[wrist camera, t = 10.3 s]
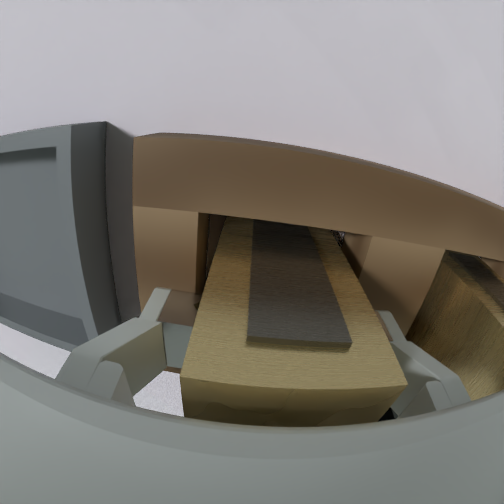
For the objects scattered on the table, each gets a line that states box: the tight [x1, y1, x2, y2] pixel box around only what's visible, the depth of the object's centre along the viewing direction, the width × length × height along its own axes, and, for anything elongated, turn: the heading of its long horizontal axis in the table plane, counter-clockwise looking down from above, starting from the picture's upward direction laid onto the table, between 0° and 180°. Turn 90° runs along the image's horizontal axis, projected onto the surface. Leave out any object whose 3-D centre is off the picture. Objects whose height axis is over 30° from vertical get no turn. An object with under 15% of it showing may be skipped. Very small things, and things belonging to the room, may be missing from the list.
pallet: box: [132, 133, 504, 374], centre depth 11 cm, size 10×19×2 cm, turn 83°
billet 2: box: [408, 249, 504, 401], centre depth 9 cm, size 4×4×8 cm
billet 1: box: [180, 216, 408, 427], centre depth 8 cm, size 4×4×8 cm
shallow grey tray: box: [0, 121, 121, 352], centre depth 10 cm, size 11×13×2 cm
